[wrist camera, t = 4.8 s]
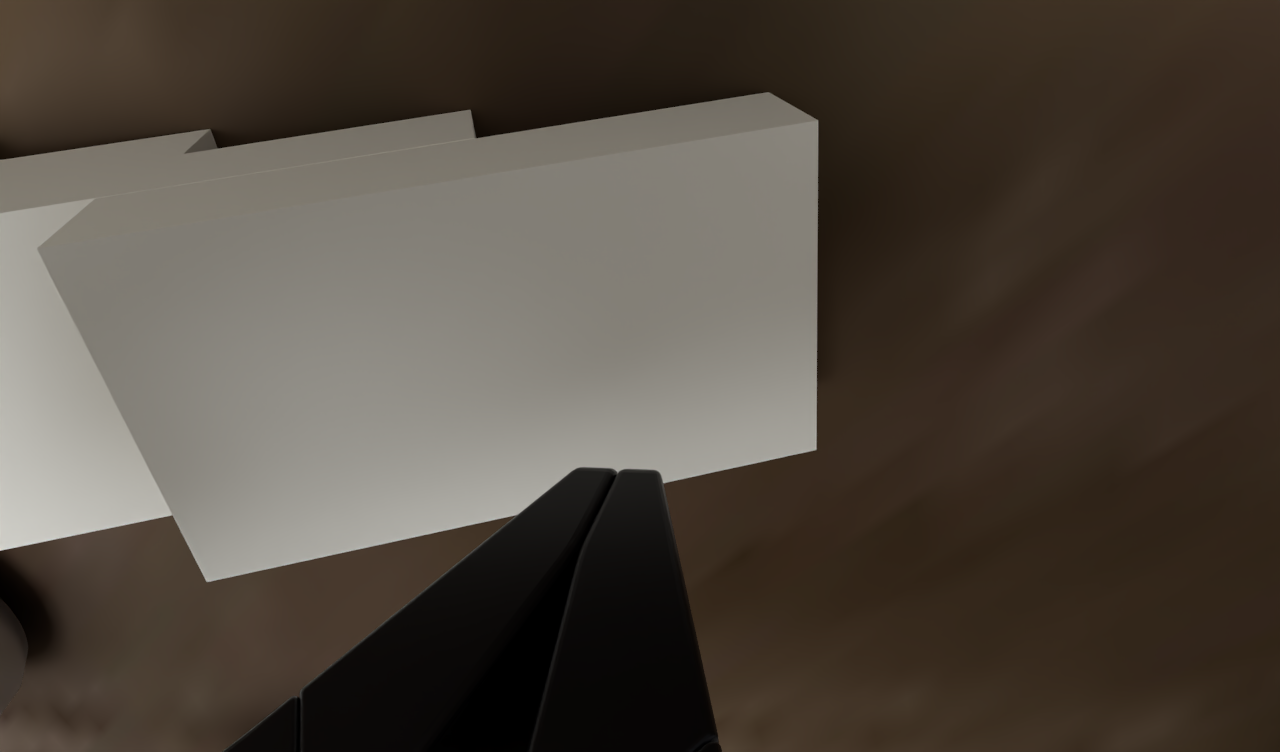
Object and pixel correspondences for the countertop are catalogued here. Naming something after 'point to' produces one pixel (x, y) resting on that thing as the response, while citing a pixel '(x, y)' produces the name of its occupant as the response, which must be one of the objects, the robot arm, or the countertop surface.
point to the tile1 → (456, 324)
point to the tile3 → (105, 155)
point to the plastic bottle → (11, 655)
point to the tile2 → (60, 361)
